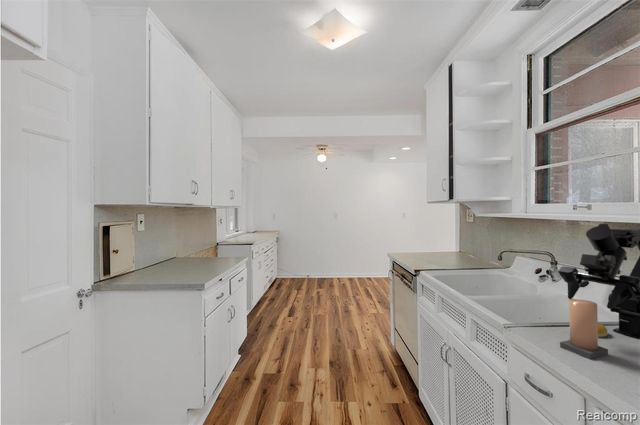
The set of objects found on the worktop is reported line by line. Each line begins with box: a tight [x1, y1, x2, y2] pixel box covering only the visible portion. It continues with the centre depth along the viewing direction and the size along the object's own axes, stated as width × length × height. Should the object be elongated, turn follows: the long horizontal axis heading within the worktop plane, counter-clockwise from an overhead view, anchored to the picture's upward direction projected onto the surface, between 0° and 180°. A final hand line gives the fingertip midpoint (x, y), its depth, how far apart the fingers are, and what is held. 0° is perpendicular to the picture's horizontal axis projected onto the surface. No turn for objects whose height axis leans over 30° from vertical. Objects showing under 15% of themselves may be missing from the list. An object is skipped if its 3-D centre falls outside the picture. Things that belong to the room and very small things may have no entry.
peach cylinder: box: [568, 298, 599, 350], centre depth 84 cm, size 6×6×12 cm
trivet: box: [559, 339, 609, 360], centre depth 84 cm, size 8×8×2 cm
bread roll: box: [598, 322, 609, 338], centre depth 96 cm, size 8×9×4 cm
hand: (587, 302), depth 85 cm, fingers open, 9 cm apart
